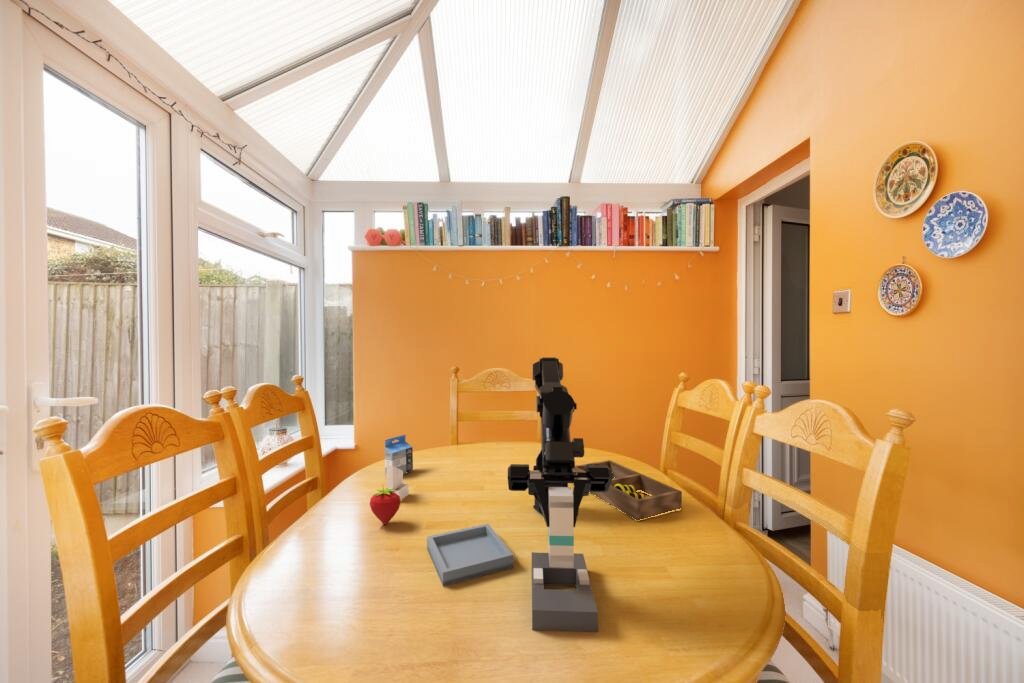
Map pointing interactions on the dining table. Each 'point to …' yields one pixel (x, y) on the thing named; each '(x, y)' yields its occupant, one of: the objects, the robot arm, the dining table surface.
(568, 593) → the block
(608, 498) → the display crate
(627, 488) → the yellow coil spring
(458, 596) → the dining table surface
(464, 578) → the tray
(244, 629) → the dining table surface
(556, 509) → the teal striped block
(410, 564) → the dining table surface
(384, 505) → the strawberry
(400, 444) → the label tape box
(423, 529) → the dining table surface
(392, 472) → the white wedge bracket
